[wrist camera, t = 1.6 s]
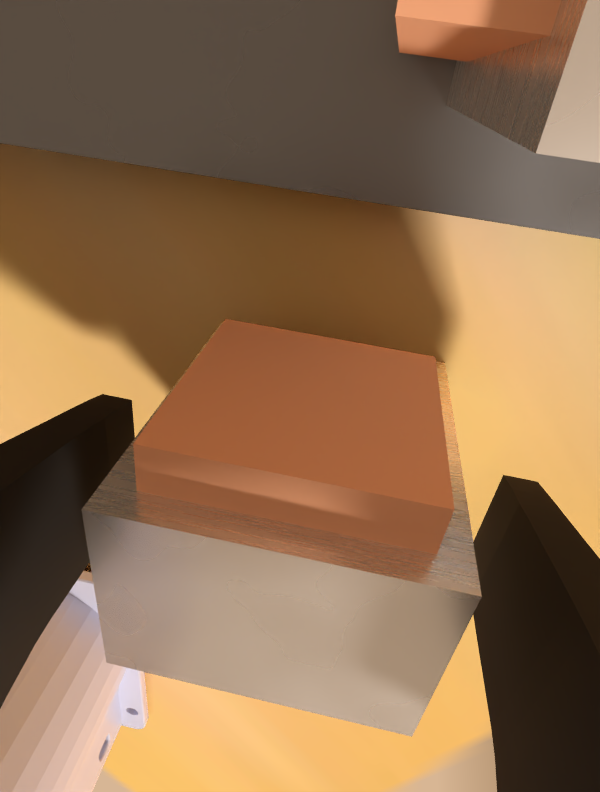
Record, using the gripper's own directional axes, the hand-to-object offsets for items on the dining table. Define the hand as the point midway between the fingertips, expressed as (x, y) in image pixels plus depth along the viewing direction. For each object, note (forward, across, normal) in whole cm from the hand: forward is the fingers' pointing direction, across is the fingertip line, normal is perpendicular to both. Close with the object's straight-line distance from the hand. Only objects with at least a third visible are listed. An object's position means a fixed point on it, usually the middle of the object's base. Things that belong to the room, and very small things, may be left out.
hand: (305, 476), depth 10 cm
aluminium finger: (+3, 0, 0) cm, 3 cm away
